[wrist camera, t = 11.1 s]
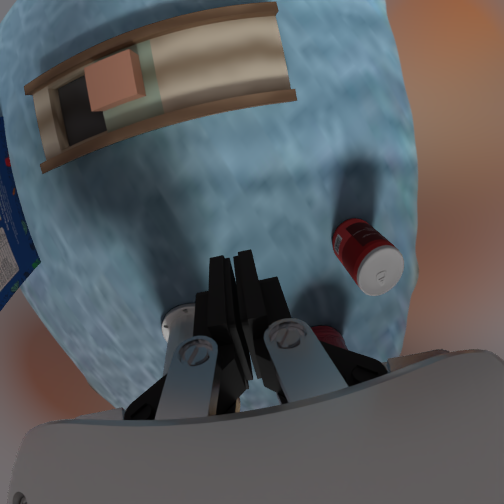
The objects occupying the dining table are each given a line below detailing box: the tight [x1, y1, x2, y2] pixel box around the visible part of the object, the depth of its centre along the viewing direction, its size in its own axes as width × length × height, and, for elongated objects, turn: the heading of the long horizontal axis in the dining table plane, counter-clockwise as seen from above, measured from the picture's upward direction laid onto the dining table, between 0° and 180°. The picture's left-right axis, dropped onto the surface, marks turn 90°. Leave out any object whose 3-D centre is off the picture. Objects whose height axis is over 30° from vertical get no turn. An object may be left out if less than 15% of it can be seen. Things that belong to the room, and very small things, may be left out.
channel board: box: [24, 2, 297, 174], centre depth 28 cm, size 14×35×5 cm, turn 100°
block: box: [84, 49, 146, 111], centre depth 25 cm, size 6×6×4 cm
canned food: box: [332, 218, 404, 296], centre depth 40 cm, size 8×8×11 cm
